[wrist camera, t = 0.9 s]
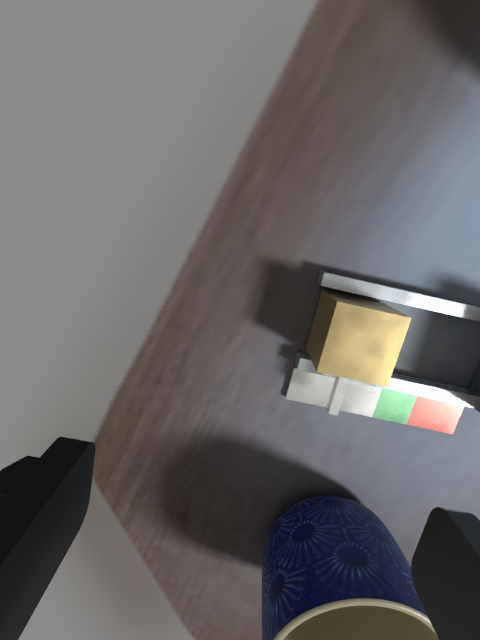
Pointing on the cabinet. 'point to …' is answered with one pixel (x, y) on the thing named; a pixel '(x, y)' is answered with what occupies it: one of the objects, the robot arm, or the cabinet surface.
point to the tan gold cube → (354, 342)
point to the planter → (337, 577)
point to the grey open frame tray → (403, 391)
